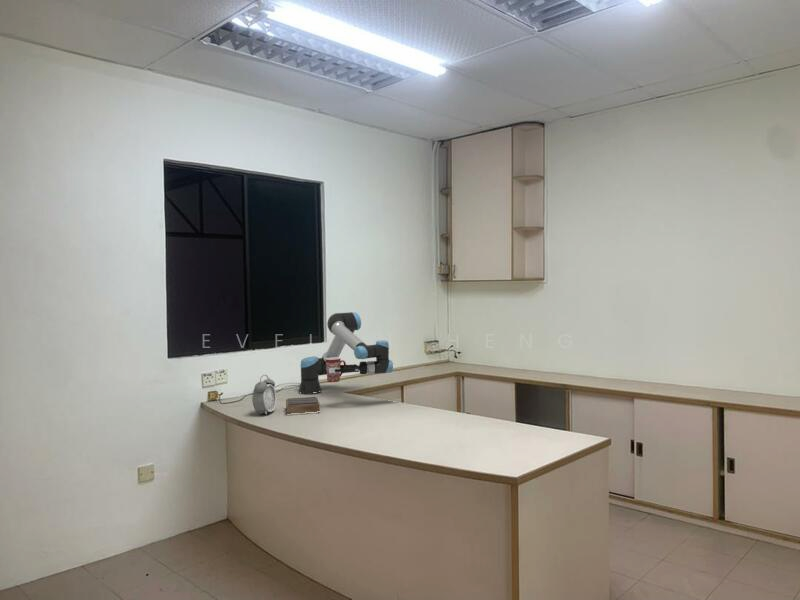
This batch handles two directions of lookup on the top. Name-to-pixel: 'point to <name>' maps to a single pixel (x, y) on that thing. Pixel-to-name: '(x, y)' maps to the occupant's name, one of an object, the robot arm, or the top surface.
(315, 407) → the walnut stand
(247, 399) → the top surface
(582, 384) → the top surface
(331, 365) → the mug
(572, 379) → the top surface
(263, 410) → the alarm clock
